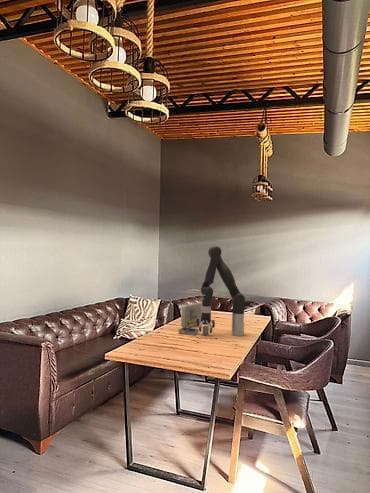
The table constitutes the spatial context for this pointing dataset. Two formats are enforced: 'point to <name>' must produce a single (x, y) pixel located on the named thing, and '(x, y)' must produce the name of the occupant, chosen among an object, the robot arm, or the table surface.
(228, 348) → the table surface
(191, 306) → the network device
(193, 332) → the rack
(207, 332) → the rectangular block
